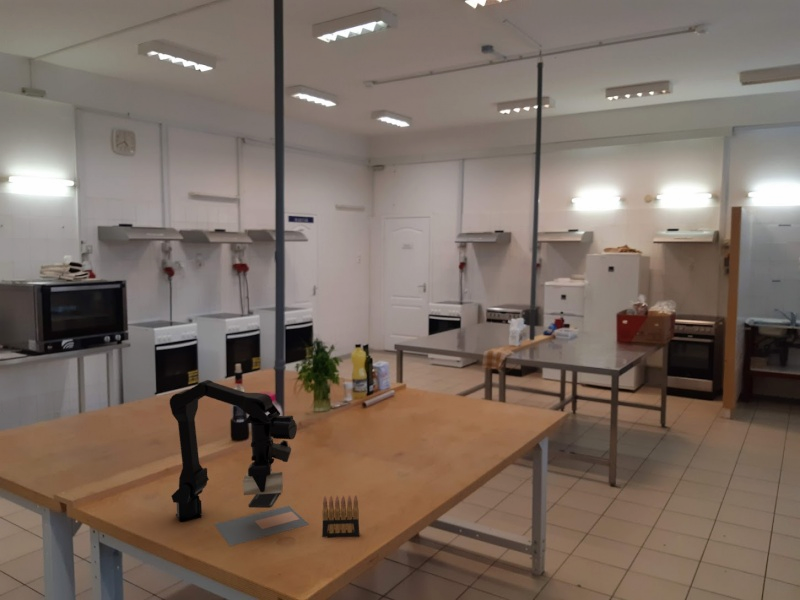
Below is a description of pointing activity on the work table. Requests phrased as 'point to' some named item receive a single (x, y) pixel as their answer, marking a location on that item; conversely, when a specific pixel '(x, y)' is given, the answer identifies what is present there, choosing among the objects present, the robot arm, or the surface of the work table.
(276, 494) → the phone
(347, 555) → the work table surface
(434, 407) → the work table surface
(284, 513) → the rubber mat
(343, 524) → the ammunition clip
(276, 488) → the ash block
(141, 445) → the work table surface
